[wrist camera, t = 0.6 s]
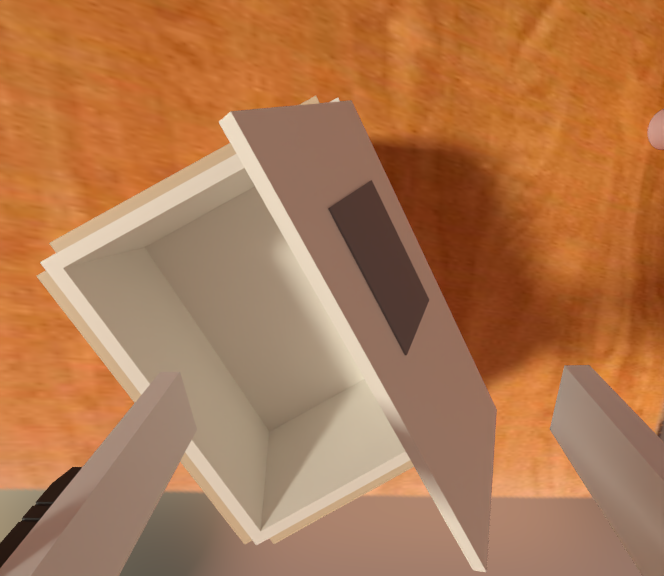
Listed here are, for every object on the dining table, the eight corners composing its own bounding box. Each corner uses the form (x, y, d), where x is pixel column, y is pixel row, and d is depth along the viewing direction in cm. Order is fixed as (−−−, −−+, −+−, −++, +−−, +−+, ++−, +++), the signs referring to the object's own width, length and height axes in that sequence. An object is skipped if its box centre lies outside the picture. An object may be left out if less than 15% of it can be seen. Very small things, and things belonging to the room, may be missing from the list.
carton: (264, 444, 36) (253, 555, 24) (124, 239, 31) (22, 257, 19) (427, 354, 36) (493, 422, 24) (316, 133, 31) (332, 86, 19)
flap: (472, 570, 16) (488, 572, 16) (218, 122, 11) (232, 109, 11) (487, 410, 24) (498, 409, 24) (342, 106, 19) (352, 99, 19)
